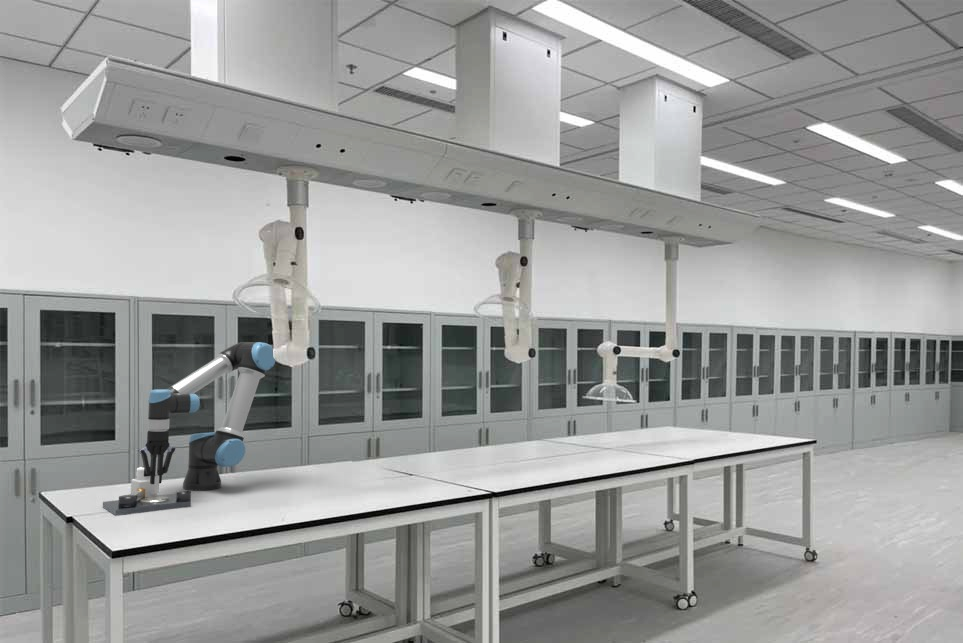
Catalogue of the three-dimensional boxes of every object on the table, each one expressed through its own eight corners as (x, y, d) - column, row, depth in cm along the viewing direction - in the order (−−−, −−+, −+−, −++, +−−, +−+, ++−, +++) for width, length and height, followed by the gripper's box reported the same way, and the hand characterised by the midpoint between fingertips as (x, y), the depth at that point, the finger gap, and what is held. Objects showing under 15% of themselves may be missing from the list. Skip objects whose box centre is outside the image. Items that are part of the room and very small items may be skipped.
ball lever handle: (133, 507, 255) (133, 498, 255) (115, 507, 254) (116, 498, 254) (150, 496, 273) (150, 488, 273) (133, 496, 272) (134, 488, 272)
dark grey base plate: (175, 498, 280) (175, 493, 280) (190, 506, 269) (190, 500, 269) (102, 507, 263) (103, 501, 263) (115, 515, 251) (115, 509, 251)
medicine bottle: (148, 495, 286) (149, 464, 286) (157, 497, 281) (158, 467, 282) (130, 497, 280) (131, 466, 281) (138, 500, 276) (140, 469, 276)
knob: (192, 501, 269) (193, 492, 269) (179, 502, 265) (179, 493, 265) (185, 497, 274) (185, 489, 274) (171, 499, 271) (172, 490, 271)
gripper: (172, 428, 281) (169, 489, 280) (137, 430, 272) (133, 492, 271) (179, 430, 275) (176, 492, 274) (143, 432, 266) (140, 496, 265)
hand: (155, 492), depth 272 cm, fingers closed
